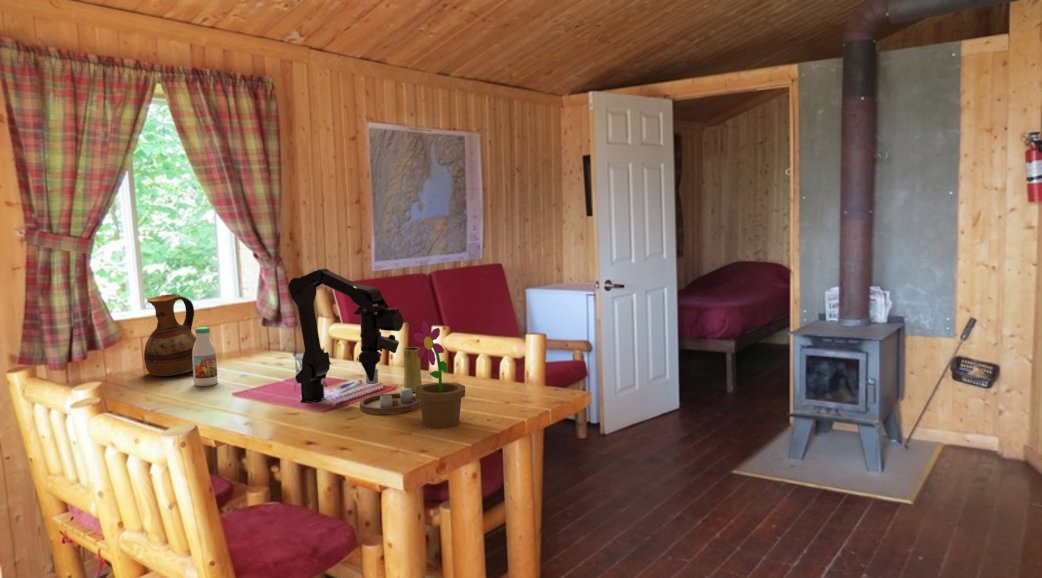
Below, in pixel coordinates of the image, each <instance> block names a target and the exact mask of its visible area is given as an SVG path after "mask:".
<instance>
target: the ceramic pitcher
mask: <svg viewBox="0 0 1042 578" xmlns="http://www.w3.org/2000/svg"><path fill="white" fill-rule="evenodd" d="M179 300H181V301H182V302H183V304H184V307H185V317H184V318H185V319H184V321H183V323H182V324H180V323H179V322H178V320H177V319H176V315H175V310H174V307H175V304H176V302H177V301H179ZM146 301H147V302H148V303H149V304H150V305H152V306H153V309H155V317H156V319H157V324H156V328H155V329H154V330H153V331H152V332H151V334H150V335H149V336H148V339H147V341H146V343H145V345H144V350H143V351H144V352H143V354H144V355H143V359H144V364H145V368H146V371H147V373H149V374H151V375H153V376H157V377H172V376H176V375H181V374H184V373H188V372H193V360H192V351H193V347H194V344H195V342H196V337H197V336H195V334H193V332H192V327H193V321H194V317H195V308H194V307H195V306H194V304H193V302H192V301H191V300H190V299H189V298H188V297H186V296H185V295H180V294H178V293H171V294H161V295H159V296H152V297H149V298H147V300H146Z"/></svg>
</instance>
